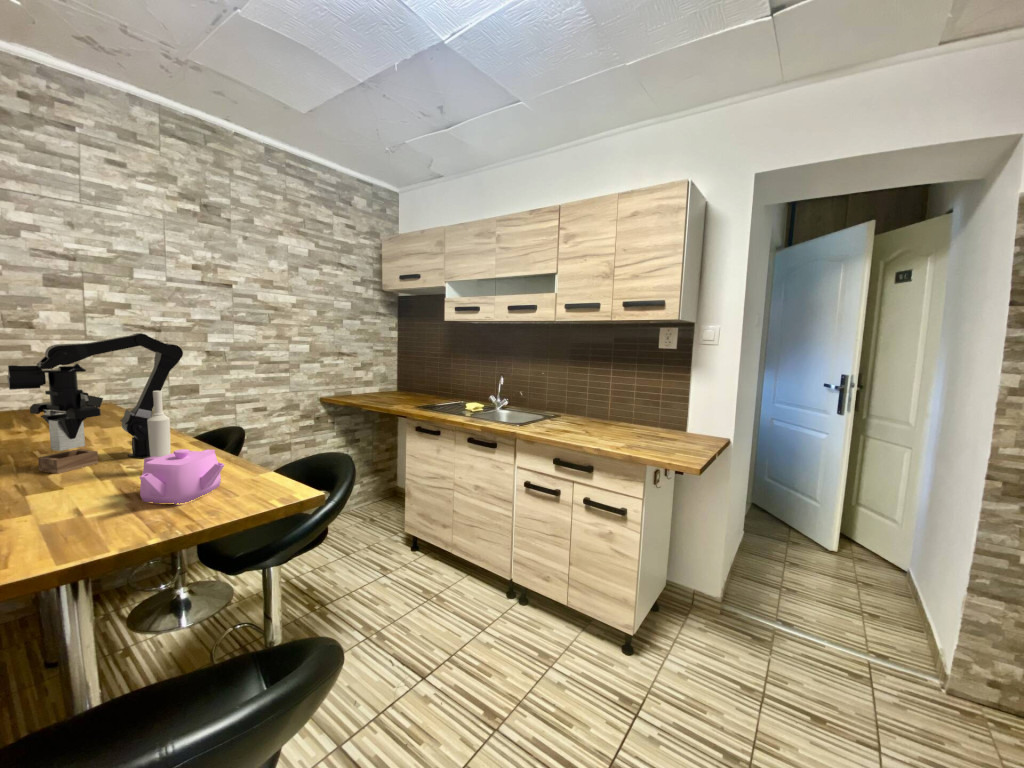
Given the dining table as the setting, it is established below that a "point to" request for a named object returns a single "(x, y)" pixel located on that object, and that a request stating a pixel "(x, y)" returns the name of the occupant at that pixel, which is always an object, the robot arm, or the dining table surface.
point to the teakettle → (180, 476)
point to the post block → (67, 461)
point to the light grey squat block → (64, 436)
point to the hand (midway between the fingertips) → (67, 438)
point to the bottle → (159, 429)
